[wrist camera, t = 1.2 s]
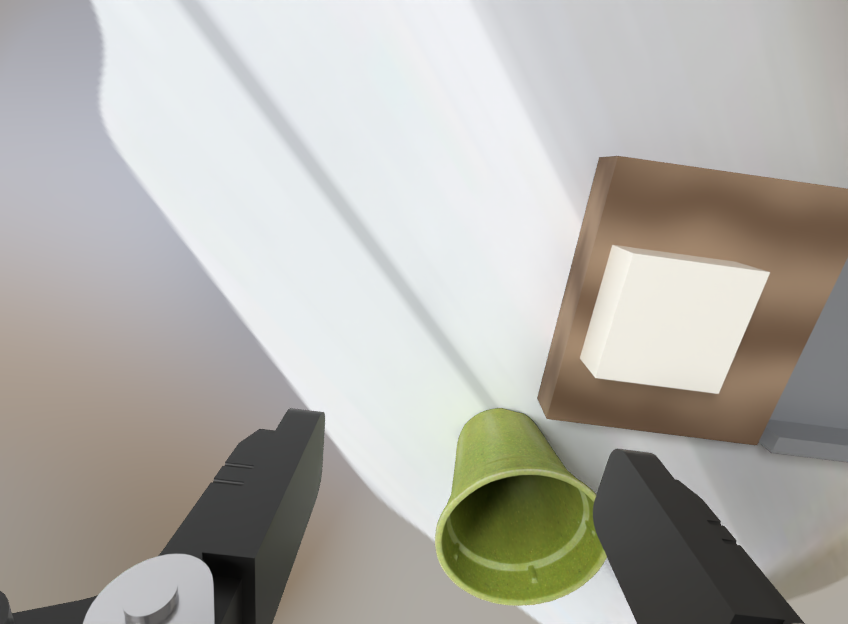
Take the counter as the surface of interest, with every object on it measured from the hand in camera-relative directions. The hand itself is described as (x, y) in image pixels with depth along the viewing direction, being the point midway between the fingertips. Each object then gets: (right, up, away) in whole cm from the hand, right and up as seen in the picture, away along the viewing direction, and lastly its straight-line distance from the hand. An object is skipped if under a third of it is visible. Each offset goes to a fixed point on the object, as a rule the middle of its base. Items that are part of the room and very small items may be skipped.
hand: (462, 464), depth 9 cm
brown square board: (+15, +4, +17) cm, 23 cm away
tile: (+13, +3, +15) cm, 20 cm away
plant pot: (+5, -6, +21) cm, 22 cm away
